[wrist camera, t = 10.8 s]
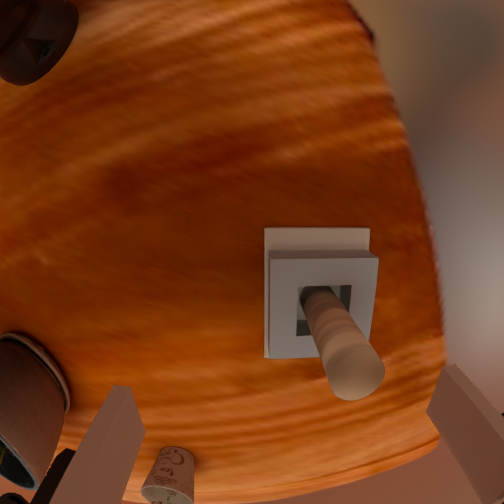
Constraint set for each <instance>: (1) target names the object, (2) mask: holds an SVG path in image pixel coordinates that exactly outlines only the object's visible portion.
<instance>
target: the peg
mask: <svg viewBox="0 0 504 504" xmlns="http://www.w3.org/2000/svg"><path fill="white" fill-rule="evenodd" d="M299 300H300V304H301V307H302V310H303V312H304V315H305V318H306V320H307V323H308V326H309V328H310V331H311V334H312V336H313V339H314V342H315V345H316V347H317V350H318V353H319V356H320V358H321V361H322V364H323V367H324V369H325V372H326V375H327V378H328V381H329V383H330V386H331V389H332V391H333V393H334V394H335V395H336V396H337V397H338V398H340V399H343V400H357V399H361V398H363V397H366V396H368V395H369V394H371V393H372V392H373V391H375V390H376V389H377V388H378V386H379V385H380V384H381V382H382V380H383V378H384V374H385V367H384V364H383V362H382V361H381V359H380V358H379V356H378V355H377V353H376V352H375V350H374V349H373V348H372V346H371V345H370V343H369V342H368V340H367V339H366V337H365V336H364V334H363V333H362V331H361V330H360V329H359V327H358V326H357V324H356V323H355V321H354V320H353V318H352V317H351V316H350V314H349V313H348V311H347V310H346V308H345V307H344V306H343V304H342V303H341V301H340V300H339V299H338V297H337V296H336V294H335V293H334V292H333V290H332V289H331V287H330V286H305V287H304V288H303V289H302V291H301V293H300V298H299Z"/></svg>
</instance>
